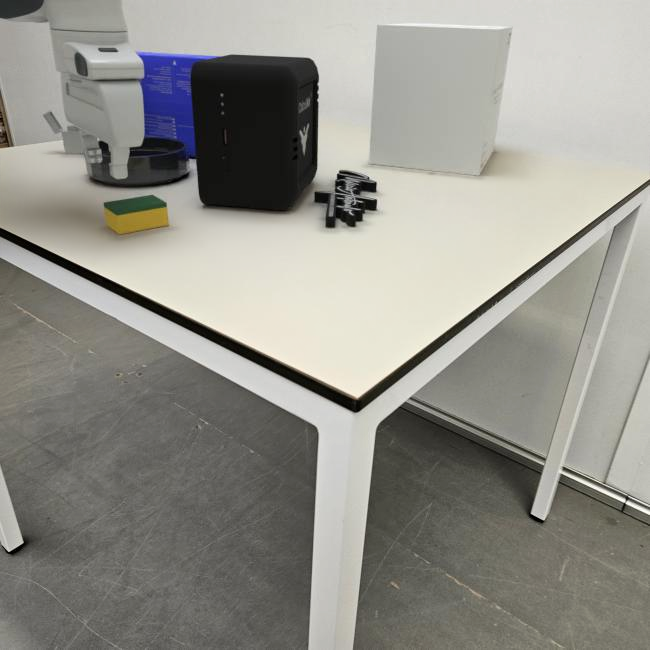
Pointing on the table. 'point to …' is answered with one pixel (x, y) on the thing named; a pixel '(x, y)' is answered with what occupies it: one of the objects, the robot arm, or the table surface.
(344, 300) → the table surface
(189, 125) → the blue box
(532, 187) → the table surface
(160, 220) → the sponge
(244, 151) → the black computer case
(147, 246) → the table surface
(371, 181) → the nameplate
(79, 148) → the lighter
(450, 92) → the cube
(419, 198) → the table surface
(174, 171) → the bowl
